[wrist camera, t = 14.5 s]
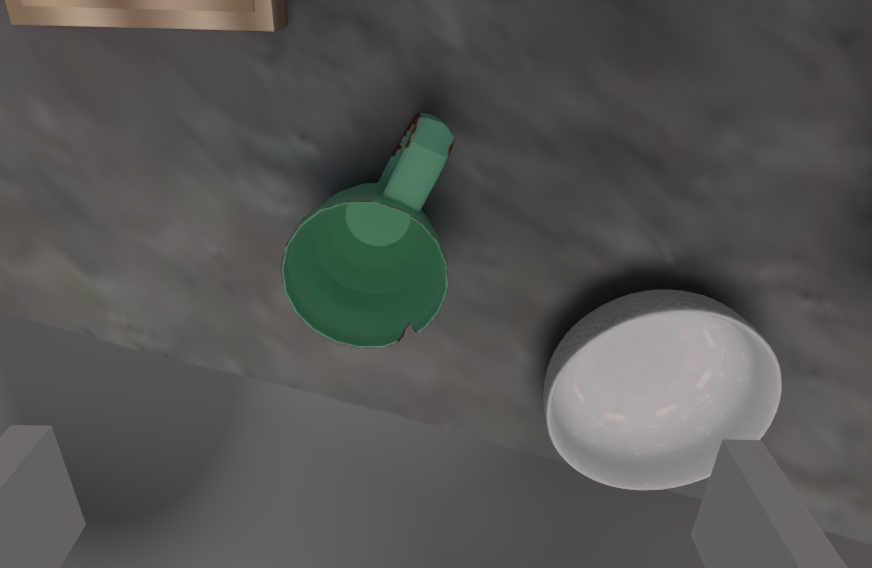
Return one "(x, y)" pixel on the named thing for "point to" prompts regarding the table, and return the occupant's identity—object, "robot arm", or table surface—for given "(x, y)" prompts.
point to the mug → (374, 249)
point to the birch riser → (152, 13)
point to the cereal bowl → (658, 389)
